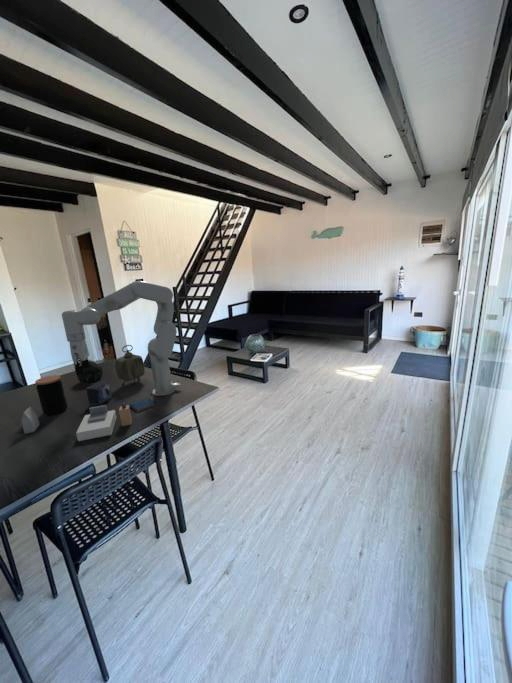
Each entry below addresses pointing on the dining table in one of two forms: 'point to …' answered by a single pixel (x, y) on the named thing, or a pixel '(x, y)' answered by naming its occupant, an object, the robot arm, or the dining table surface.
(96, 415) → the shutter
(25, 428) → the grey faceted stone
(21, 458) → the dining table surface
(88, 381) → the squash
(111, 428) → the socket block
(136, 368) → the tabletop clock
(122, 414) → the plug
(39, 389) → the coffee jar
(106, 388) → the small box
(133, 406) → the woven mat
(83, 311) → the robot arm
